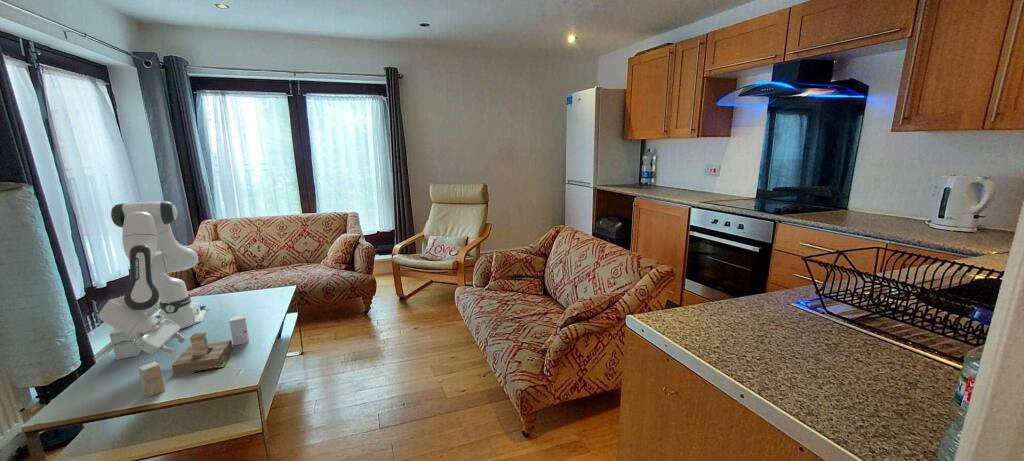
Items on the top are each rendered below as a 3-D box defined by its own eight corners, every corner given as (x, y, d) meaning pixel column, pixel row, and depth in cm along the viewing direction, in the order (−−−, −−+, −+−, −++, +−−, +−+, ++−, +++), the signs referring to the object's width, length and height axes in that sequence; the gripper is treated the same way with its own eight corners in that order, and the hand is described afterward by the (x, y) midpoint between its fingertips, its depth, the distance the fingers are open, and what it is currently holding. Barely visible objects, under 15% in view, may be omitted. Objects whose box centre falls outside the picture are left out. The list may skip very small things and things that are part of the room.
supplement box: (115, 360, 176) (108, 334, 173) (121, 353, 183) (114, 327, 180) (137, 356, 180) (130, 329, 177) (143, 348, 186) (136, 323, 183)
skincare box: (233, 346, 185) (228, 321, 183) (234, 342, 189) (229, 317, 186) (249, 342, 188) (244, 318, 186) (249, 338, 192) (244, 314, 189)
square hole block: (191, 354, 179) (189, 346, 178) (233, 348, 184) (231, 339, 183) (173, 374, 164) (171, 365, 163) (219, 366, 169) (217, 357, 168)
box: (148, 397, 150) (141, 370, 147) (144, 394, 152) (136, 367, 149) (166, 390, 154) (159, 363, 151) (161, 386, 156) (154, 360, 154)
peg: (200, 358, 175) (194, 333, 173) (211, 357, 177) (206, 331, 174) (195, 364, 171) (189, 338, 168) (207, 362, 172) (201, 336, 170)
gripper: (136, 334, 155) (172, 352, 161) (163, 312, 175) (194, 329, 180) (124, 347, 155) (161, 365, 160) (152, 324, 174) (185, 340, 179)
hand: (179, 346), depth 170 cm, fingers open, 8 cm apart
